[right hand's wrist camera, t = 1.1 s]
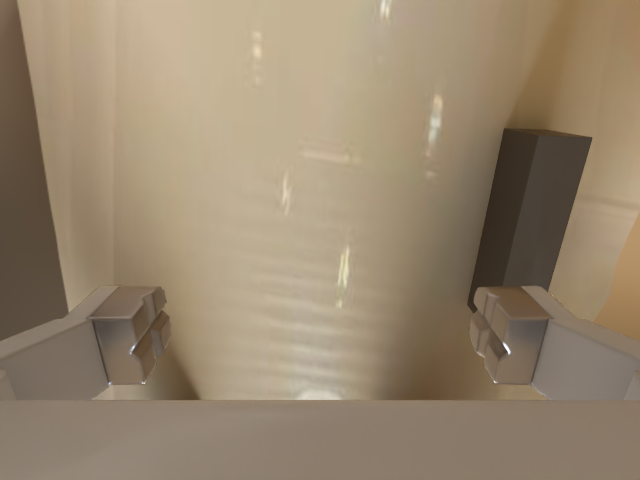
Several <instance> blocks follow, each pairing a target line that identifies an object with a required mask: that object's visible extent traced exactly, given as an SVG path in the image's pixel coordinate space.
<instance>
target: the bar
mask: <svg viewBox="0 0 640 480" xmlns="http://www.w3.org/2000/svg"><path fill="white" fill-rule="evenodd" d="M591 141H592V137H586V136H580V135H574V134H568V133H562V132H556V131H550V130H527V129H504V132H503V136H502V141H501V146H500V151H499V156H498V161H497V165H496V170H495V175H494V180H493V185H492V189H491V194H490V199H489V204H488V209H487V214H486V218H485V223H484V228H483V233H482V238H481V242H480V247H479V252H478V257H477V262H476V267H475V271H474V276H473V281H472V286H471V291H470V295H469V300H468V306H469V308H470V309H471V310H472V312H473V313H475V312H476V311H477V310H478V309H477V307H476V305H475V304H474V296H475V293H476V290H477V288H479V287H499V286H540V287H542V288H543V289H544V290H546V291H547V292H548V289H549V285H550V282H551V279H552V275H553V272H554V268H555V265H556V261H557V258H558V254H559V251H560V248H561V244H562V241H563V237H564V234H565V230H566V227H567V224H568V220H569V217H570V213H571V210H572V206H573V203H574V200H575V196H576V193H577V189H578V186H579V182H580V179H581V175H582V172H583V169H584V165H585V162H586V158H587V155H588V151H589V148H590V145H591Z"/></svg>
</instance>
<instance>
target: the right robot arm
mask: <svg viewBox="0 0 640 480" xmlns="http://www.w3.org/2000/svg"><path fill="white" fill-rule="evenodd" d="M166 303H167V301H166V296H165V292H164V290H163V289H162V288H161V287H145V286H100V287H98V288H97V289H96V290H95V291H94V292H92V293H91V294H90V295H89V296H88V297H87V298H86V299H85V300H83V301H82V302H81V303H80V304H79V305H78V306H77V307H76V308H74V309H73V310H72V311H71V312H70V313H69V314H68V315H67V316H65V317H64V318H63V319H55V320H53V321H50V322H48V323H45V324H42V325H40V326H37V327H35V328H32V329H30V330H27V331H25V332H22V333H20V334H17V335H15V336H12V337H10V338H7V339H5V340H2V341H0V480H640V341H638V340H635V339H633V338H630V337H628V336H625V335H623V334H620V333H618V332H615V331H613V330H610V329H608V328H605V327H603V326H600V325H598V324H595V323H593V322H590V321H588V320H585V319H577V318H576V317H575V316H574V315H573V314H571V313H570V312H569V311H568V310H567V309H566V308H565V307H564V306H562V305H561V304H560V303H559V302H558V301H557V300H556V299H555V298H553V297H552V296H551V295H550V294H549V293H548V292H547V291H546V290H544V289H543V288H542V287H540V286H499V287H479V288H477V290H476V293H475V296H474V304H475V305H476V307H477V309H478V310H477V311H476V312H475V313H474V314H473V315H472V316H471V319H470V327H469V330H470V339H471V343H472V346H473V348H474V349H475V351H476V353H478V354H479V355H481V356H482V357H484V358H485V360H484V367H485V368H486V370H487V371H488V373H489V375H490V376H491V378H492V380H493V381H494V383H495V384H510V385H531V387H532V388H534V389H535V390H536V391H538V392H539V393H540V394H542V395H543V396H544V397H546V398H547V399H549V400H92V399H93V398H94V397H96V396H97V395H99V394H100V393H101V392H103V391H104V390H105V389H107V388H108V387H109V385H129V384H145V383H146V382H147V380H148V378H149V377H150V375H151V373H152V372H153V370H154V368H155V367H156V365H157V364H156V359H155V358H156V357H158V356H159V355H161V354H163V353H164V351H165V350H166V348H167V346H168V343H169V339H170V335H171V324H170V318H169V316H168V315H167V314H166V313H165V312H164V311H163V310H162V309H163V307H164V306H165V304H166Z"/></svg>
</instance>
